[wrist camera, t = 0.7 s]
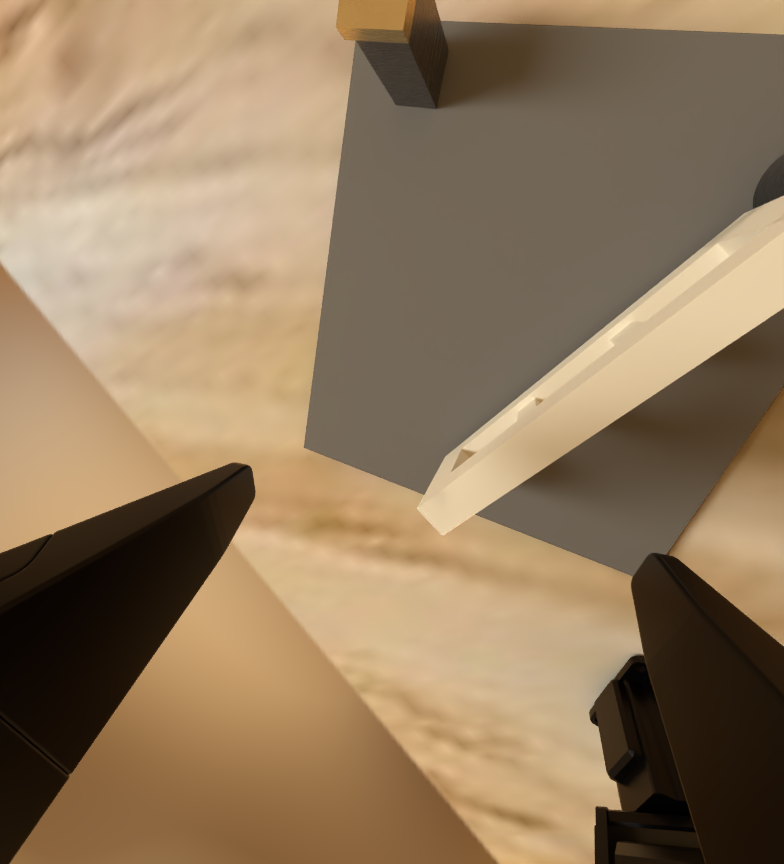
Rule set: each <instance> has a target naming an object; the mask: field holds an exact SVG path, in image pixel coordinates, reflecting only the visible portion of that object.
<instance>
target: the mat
mask: <svg viewBox="0 0 784 864" xmlns="http://www.w3.org/2000/svg"><path fill="white" fill-rule="evenodd" d="M441 24H442V28H443V31H444V35H445V38H446V42H447V45H448V49H449V53H448V57H447V62H446V67H445V72H444V77H443V81H442V86H441V91H440V96H439V101H438V105H437V109H428V108H418V107H409V106H399V105H395V103H394V101H393V100H392V98H391V97H390V95H389V93H388V92H387V90H386V88H385V87H384V85H383V84H382V82H381V80H380V79H379V77H378V76H377V74H376V72H375V71H374V69H373V68H372V66H371V64H370V63H369V61H368V60H367V58H366V56H365V55H364V53H363V51H362V50H361V48H360V47H359V45H358V43H357V42H356V43H355V50H354V58H353V66H352V74H351V82H350V90H349V98H348V105H347V113H346V121H345V129H344V137H343V145H342V153H341V160H340V168H339V176H338V184H337V192H336V200H335V207H334V215H333V223H332V231H331V239H330V247H329V255H328V262H327V270H326V278H325V286H324V294H323V302H322V310H321V317H320V325H319V333H318V341H317V349H316V357H315V365H314V372H313V380H312V388H311V396H310V404H309V412H308V420H307V427H306V435H305V443H304V448H306V449H309V450H311V451H314V452H316V453H319V454H321V455H324V456H326V457H329V458H332V459H334V460H337V461H339V462H342V463H344V464H347V465H350V466H352V467H355V468H357V469H360V470H362V471H365V472H367V473H370V474H373V475H375V476H378V477H380V478H383V479H385V480H388V481H391V482H393V483H396V484H398V485H401V486H403V487H406V488H408V489H411V490H414V491H416V492H419V493H421V494H424V495H425V493H426V491H427V489H428V487H429V485H430V484H431V482H432V480H433V478H434V476H435V474H436V473H437V471H438V469H439V467H440V465H441V463H442V462H443V460H444V458H445V456H447V455H448V454H449V453H450V452H451V451H453V450H454V449H455V448H456V447H458V446H459V445H460V444H461V443H463V442H464V441H465V440H466V439H467V438H469V437H470V436H471V435H472V434H474V433H475V432H476V431H477V430H479V429H480V428H481V427H482V426H483V425H485V424H486V423H487V422H488V421H490V420H491V419H492V418H493V417H495V416H496V415H497V414H498V413H499V412H501V411H502V410H503V409H504V408H506V407H507V406H508V405H509V404H510V403H512V402H513V401H514V400H515V399H517V398H518V397H519V396H520V395H522V394H523V393H524V392H525V391H526V390H528V389H529V388H530V387H531V386H533V385H534V384H535V383H536V382H538V381H539V380H540V379H541V378H542V377H544V376H545V375H546V374H547V373H549V372H550V371H551V370H552V369H554V368H555V367H556V366H557V365H558V364H560V363H561V362H562V361H563V360H565V359H566V358H567V357H568V356H570V355H571V354H572V353H573V352H574V351H576V350H577V349H578V348H579V347H581V346H582V345H583V344H584V343H585V342H587V341H588V340H589V339H590V338H592V337H593V336H594V335H595V334H597V333H598V332H599V331H600V330H601V329H603V328H604V327H605V326H606V325H608V324H609V323H610V322H611V321H613V320H614V319H615V318H616V317H617V316H619V315H620V314H621V313H622V312H624V311H625V310H626V309H627V308H629V307H630V306H631V305H632V304H633V303H635V302H636V301H637V300H638V299H640V298H641V297H642V296H643V295H644V294H646V293H647V292H648V291H649V290H651V289H652V288H653V287H654V286H656V285H657V284H658V283H659V282H660V281H662V280H663V279H664V278H665V277H667V276H668V275H669V274H670V273H672V272H673V271H674V270H675V269H676V268H678V267H679V266H680V265H681V264H683V263H684V262H685V261H686V260H688V259H689V258H690V257H691V256H692V255H694V254H695V253H696V252H697V251H699V250H700V249H701V248H702V247H704V246H705V245H706V244H707V243H708V242H710V241H711V240H712V239H713V238H715V237H716V236H717V235H718V234H719V233H721V232H722V231H723V230H724V229H726V228H727V227H728V226H729V225H731V224H732V223H733V222H734V221H735V220H737V219H738V218H739V217H740V216H742V215H743V214H744V213H746V212H748V211H750V210H753V197H754V192H755V189H756V187H757V185H758V182H759V181H760V179H761V177H762V176H763V174H764V173H765V171H766V170H767V169H768V168H769V167H770V166H771V164H772V163H773V162H774V161H776V160H777V159H778V158H779V157H780V156H781V155H783V154H784V35H777V34H752V33H727V32H703V31H678V30H653V29H628V28H603V27H578V26H553V25H528V24H503V23H478V22H453V21H441ZM783 387H784V308H783V309H782V310H780V311H779V312H777V313H776V314H774V315H773V316H771V317H770V318H768V319H767V320H765V321H764V322H762V323H761V324H759V325H758V326H756V327H755V328H753V329H752V330H750V331H749V332H747V333H746V334H744V335H743V336H741V337H740V338H738V339H737V340H735V341H734V342H732V343H731V344H729V345H728V346H726V347H725V348H723V349H722V350H720V351H719V352H717V353H716V354H714V355H713V356H711V357H710V358H708V359H707V360H705V361H704V362H702V363H701V364H699V365H698V366H696V367H695V368H693V369H692V370H690V371H689V372H687V373H686V374H684V375H683V376H681V377H680V378H678V379H677V380H675V381H674V382H672V383H671V384H669V385H668V386H666V387H665V388H663V389H662V390H660V391H659V392H657V393H656V394H654V395H653V396H651V397H650V398H648V399H647V400H645V401H644V402H642V403H641V404H639V405H638V406H636V407H635V408H633V409H632V410H630V411H629V412H627V413H626V414H624V415H623V416H621V417H620V418H618V419H617V420H615V421H614V422H612V423H611V424H609V425H608V426H606V427H605V428H603V429H602V430H600V431H599V432H597V433H596V434H594V435H593V436H591V437H590V438H588V439H587V440H585V441H584V442H582V443H581V444H579V445H578V446H576V447H575V448H574V449H572V450H571V451H569V452H568V453H566V454H565V455H563V456H562V457H560V458H559V459H557V460H556V461H554V462H553V463H551V464H550V465H548V466H547V467H545V468H544V469H542V470H541V471H539V472H538V473H536V474H535V475H533V476H532V477H530V478H529V479H527V480H526V481H524V482H523V483H521V484H520V485H518V486H517V487H515V488H514V489H512V490H511V491H509V492H508V493H506V494H505V495H503V496H502V497H500V498H499V499H497V500H496V501H494V502H493V503H491V504H490V505H488V506H487V507H485V508H484V509H482V510H481V511H479V512H478V513H476V514H475V515H478V516H480V517H483V518H485V519H488V520H490V521H493V522H496V523H498V524H501V525H503V526H506V527H508V528H511V529H514V530H516V531H519V532H521V533H524V534H526V535H529V536H531V537H534V538H537V539H539V540H542V541H544V542H547V543H549V544H552V545H555V546H557V547H560V548H562V549H565V550H567V551H570V552H572V553H575V554H578V555H580V556H583V557H585V558H588V559H590V560H593V561H596V562H598V563H601V564H603V565H606V566H608V567H611V568H613V569H616V570H619V571H621V572H624V573H626V574H629V575H631V576H634V574H635V573H636V571H637V570H638V568H639V567H640V566H641V564H642V563H643V561H644V560H645V558H646V557H647V556H648V555H649V554H651V553H660V554H664V555H666V554H667V553H668V551H669V550H670V548H671V547H672V546H673V544H674V543H675V541H676V540H677V538H678V537H679V536H680V534H681V533H682V531H683V530H684V528H685V527H686V526H687V524H688V523H689V521H690V520H691V518H692V517H693V516H694V514H695V513H696V511H697V510H698V508H699V507H700V505H701V504H702V503H703V501H704V500H705V498H706V497H707V495H708V494H709V493H710V491H711V490H712V488H713V487H714V485H715V484H716V483H717V481H718V480H719V478H720V477H721V475H722V474H723V473H724V471H725V470H726V468H727V467H728V465H729V464H730V463H731V461H732V460H733V458H734V457H735V455H736V454H737V453H738V451H739V450H740V448H741V447H742V445H743V444H744V442H745V441H746V440H747V438H748V437H749V435H750V434H751V432H752V431H753V430H754V428H755V427H756V425H757V424H758V422H759V421H760V420H761V418H762V417H763V415H764V414H765V412H766V411H767V410H768V408H769V407H770V405H771V404H772V402H773V401H774V400H775V398H776V397H777V395H778V394H779V392H780V391H781V389H782V388H783Z"/></svg>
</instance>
